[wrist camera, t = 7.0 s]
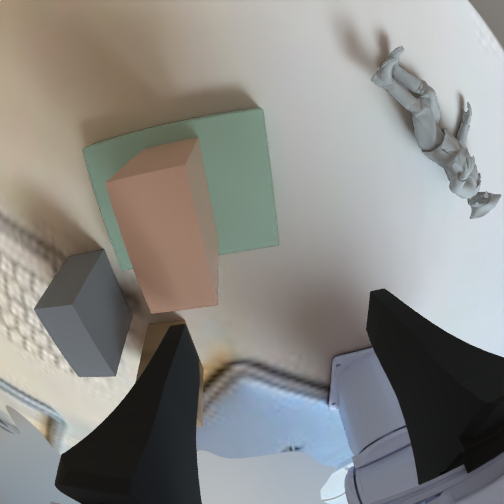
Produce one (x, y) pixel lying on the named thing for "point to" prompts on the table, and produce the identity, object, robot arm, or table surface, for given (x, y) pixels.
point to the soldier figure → (437, 134)
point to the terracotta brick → (168, 225)
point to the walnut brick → (150, 346)
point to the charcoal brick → (86, 314)
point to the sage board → (217, 174)
